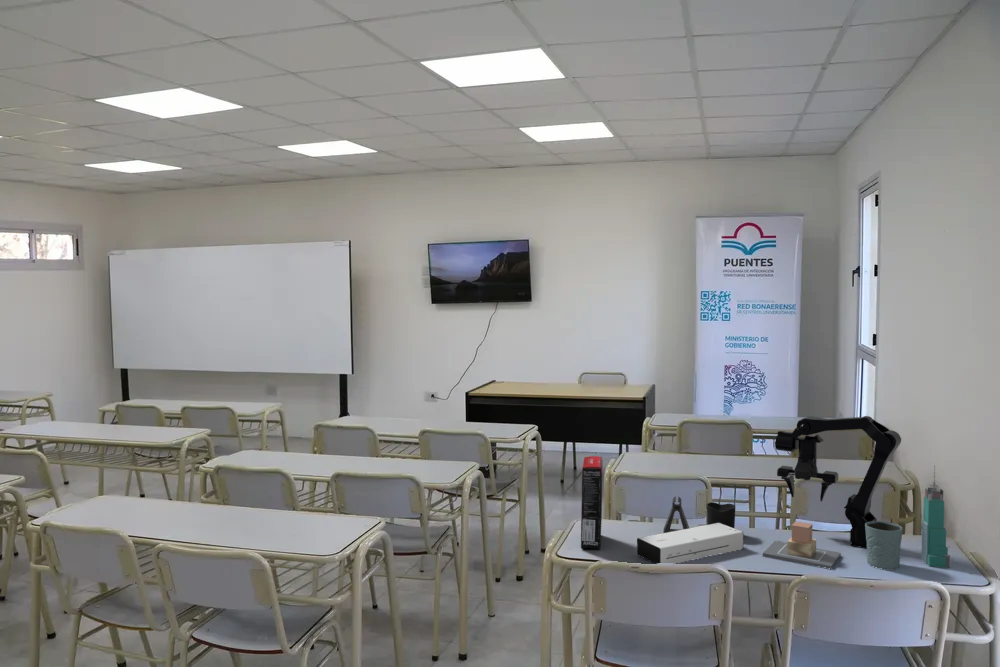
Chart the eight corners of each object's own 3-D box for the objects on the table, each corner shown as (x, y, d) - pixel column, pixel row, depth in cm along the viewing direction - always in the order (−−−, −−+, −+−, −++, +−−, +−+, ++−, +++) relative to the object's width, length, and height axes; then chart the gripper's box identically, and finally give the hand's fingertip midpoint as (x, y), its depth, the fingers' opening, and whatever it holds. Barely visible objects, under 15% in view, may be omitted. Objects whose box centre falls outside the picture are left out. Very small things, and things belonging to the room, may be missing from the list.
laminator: (659, 568, 222) (659, 548, 222) (634, 556, 233) (634, 536, 233) (743, 550, 238) (743, 531, 237) (716, 539, 249) (716, 521, 248)
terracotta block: (812, 539, 232) (812, 523, 231) (808, 543, 227) (808, 527, 227) (795, 536, 234) (795, 521, 234) (791, 541, 230) (791, 525, 230)
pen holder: (719, 528, 260) (720, 500, 259) (741, 535, 251) (741, 506, 251) (700, 533, 255) (700, 504, 254) (721, 540, 247) (722, 511, 246)
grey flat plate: (840, 555, 231) (840, 552, 231) (831, 569, 220) (831, 565, 220) (774, 543, 243) (774, 540, 243) (762, 556, 231) (762, 552, 231)
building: (943, 560, 226) (945, 463, 225) (950, 567, 220) (952, 468, 219) (921, 559, 228) (923, 463, 226) (928, 566, 222) (930, 467, 220)
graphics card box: (582, 533, 255) (582, 455, 254) (602, 534, 254) (602, 455, 253) (580, 550, 238) (580, 466, 237) (602, 551, 237) (602, 467, 236)
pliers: (690, 531, 257) (690, 497, 256) (690, 536, 251) (690, 501, 250) (663, 529, 259) (663, 495, 258) (663, 534, 253) (663, 500, 253)
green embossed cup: (873, 570, 218) (874, 530, 218) (858, 558, 229) (859, 520, 228) (908, 570, 218) (909, 530, 218) (891, 558, 228) (892, 520, 228)
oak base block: (816, 551, 232) (816, 539, 232) (810, 558, 226) (811, 545, 226) (792, 547, 236) (793, 535, 236) (787, 553, 230) (787, 541, 230)
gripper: (772, 454, 251) (772, 500, 251) (831, 461, 240) (831, 509, 241) (781, 449, 260) (781, 493, 260) (838, 455, 249) (838, 501, 250)
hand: (807, 499), depth 252 cm, fingers open, 9 cm apart
